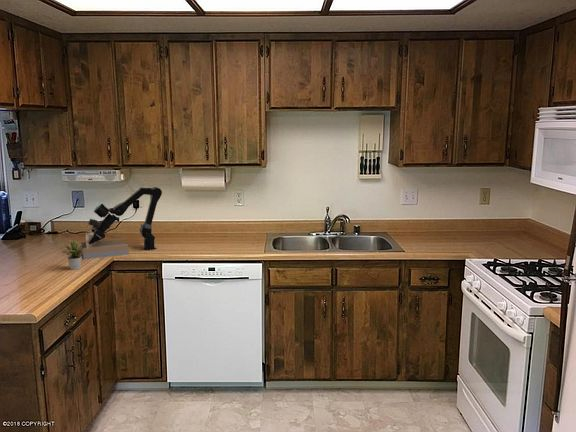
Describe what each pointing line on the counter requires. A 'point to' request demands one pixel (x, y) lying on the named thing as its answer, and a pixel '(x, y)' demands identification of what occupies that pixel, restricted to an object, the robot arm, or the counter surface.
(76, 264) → the house plant
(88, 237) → the block
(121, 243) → the channel
